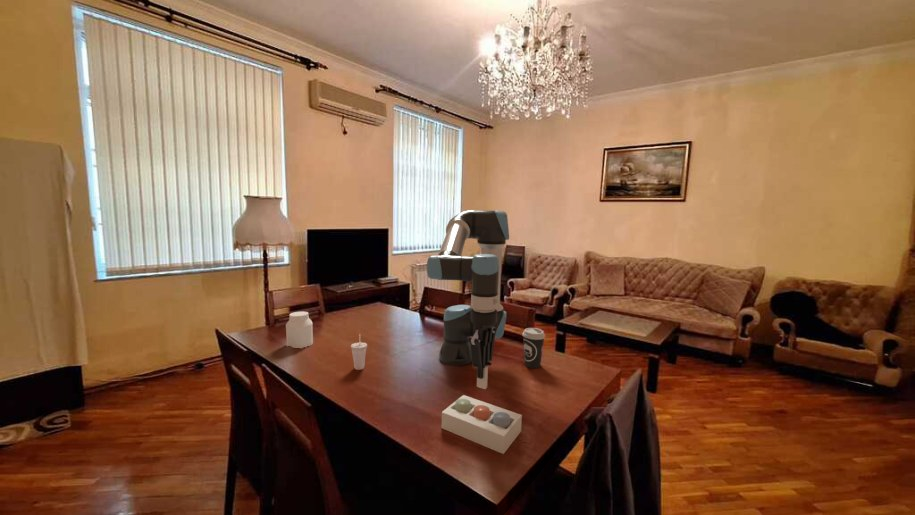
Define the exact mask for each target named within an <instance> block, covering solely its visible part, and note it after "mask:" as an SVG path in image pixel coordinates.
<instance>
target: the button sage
mask: <svg viewBox="0 0 915 515" xmlns="http://www.w3.org/2000/svg"><path fill="white" fill-rule="evenodd" d="M456 400H457V401H456ZM456 400H455V401H456V403H455V410H457V411H459V412H462V413H465V414H467V413H468V412H469V411H470V410H471V402H470V401H469V400H467V399H459V398H457V399H456Z"/></svg>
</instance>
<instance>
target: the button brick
mask: <svg viewBox="0 0 915 515" xmlns="http://www.w3.org/2000/svg"><path fill="white" fill-rule="evenodd" d="M474 417H475V418H478V419H481V420H483V421H486V420H487V419H488V418H489V417H490V409H489V408H488V407H487V406H484V405H478V406H475V407H474Z"/></svg>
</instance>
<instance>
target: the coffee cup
mask: <svg viewBox="0 0 915 515" xmlns="http://www.w3.org/2000/svg"><path fill="white" fill-rule="evenodd" d="M521 336H522V337H523V338H522V339H523V356H524V357H523V358H524V366H525V367H527V368H530V369H538V368H540V367H541V364H542V356H543V350H544V349H543V348H544V343H545V342H544V341H545V338H546V333H544V330H543V329H542V328H536V327H527V328H525V329H524V330H523V332H522V334H521Z"/></svg>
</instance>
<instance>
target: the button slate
mask: <svg viewBox="0 0 915 515" xmlns="http://www.w3.org/2000/svg"><path fill="white" fill-rule="evenodd" d="M493 424H494V425H497V426H499V427H502V428H505V429H507V428H508V427H509V426H510V416H509V415H508V414H507V413H504V412H497V413H495V414H494V418H493Z"/></svg>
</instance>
